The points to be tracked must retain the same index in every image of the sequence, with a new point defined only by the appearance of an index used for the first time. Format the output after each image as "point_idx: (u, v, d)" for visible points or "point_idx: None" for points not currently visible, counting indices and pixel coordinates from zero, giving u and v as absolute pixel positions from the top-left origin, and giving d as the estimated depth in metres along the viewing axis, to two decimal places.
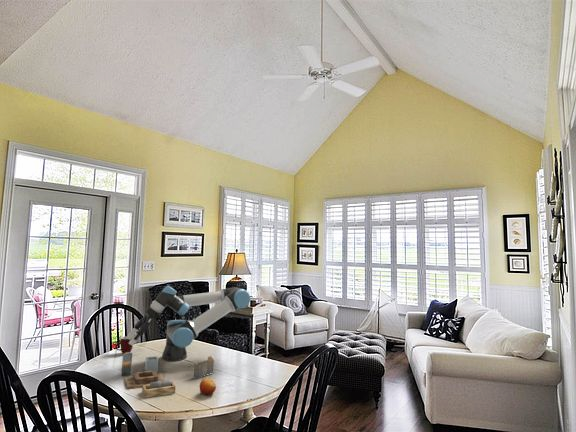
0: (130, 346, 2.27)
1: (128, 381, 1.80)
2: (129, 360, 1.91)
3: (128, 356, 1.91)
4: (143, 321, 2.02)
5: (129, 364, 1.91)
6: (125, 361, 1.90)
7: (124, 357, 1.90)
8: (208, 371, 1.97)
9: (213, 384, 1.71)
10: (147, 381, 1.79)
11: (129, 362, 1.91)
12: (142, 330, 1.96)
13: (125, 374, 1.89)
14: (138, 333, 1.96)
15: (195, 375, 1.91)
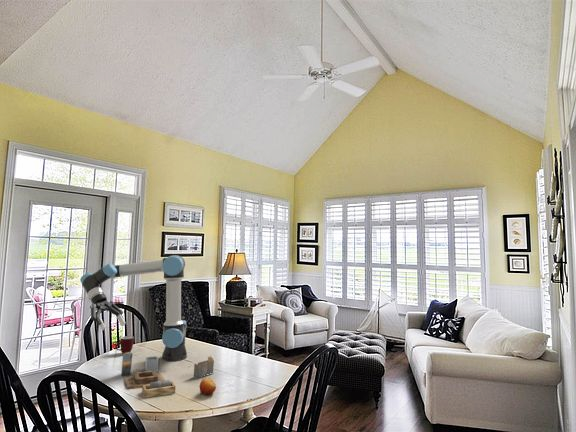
0: (130, 346, 2.27)
1: (128, 381, 1.80)
2: (129, 360, 1.91)
3: (128, 356, 1.91)
4: None
5: (129, 364, 1.91)
6: (125, 361, 1.90)
7: (124, 357, 1.90)
8: (208, 371, 1.97)
9: (213, 384, 1.71)
10: (147, 381, 1.79)
11: (129, 362, 1.91)
12: (91, 316, 1.92)
13: (125, 374, 1.89)
14: (95, 319, 1.92)
15: (195, 375, 1.91)
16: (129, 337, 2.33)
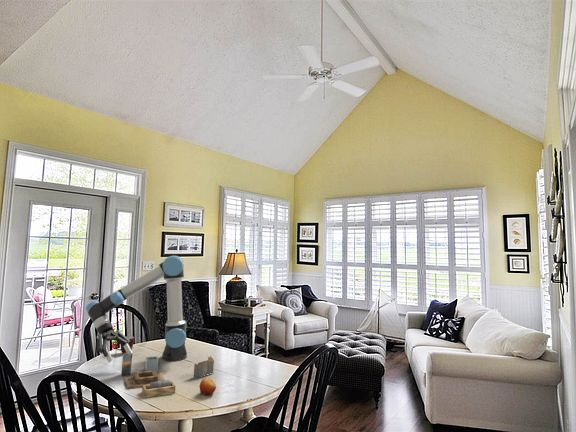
0: (130, 346, 2.27)
1: (128, 381, 1.80)
2: (129, 360, 1.91)
3: (128, 356, 1.91)
4: None
5: (129, 364, 1.91)
6: (125, 361, 1.90)
7: (124, 357, 1.90)
8: (208, 371, 1.97)
9: (213, 384, 1.71)
10: (147, 381, 1.79)
11: (129, 362, 1.91)
12: (98, 347, 1.87)
13: (125, 374, 1.89)
14: None
15: (195, 375, 1.91)
16: (129, 337, 2.33)
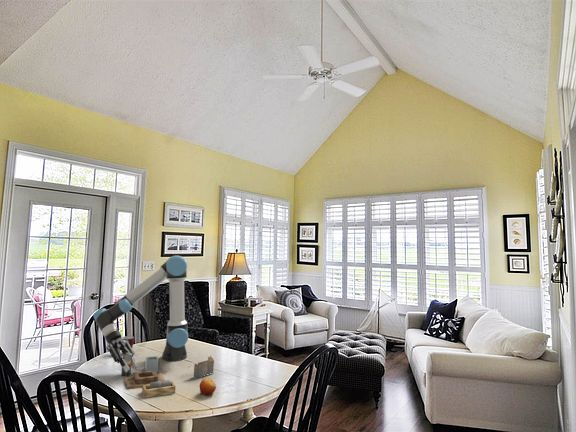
0: None
1: (128, 381, 1.80)
2: (129, 360, 1.91)
3: (128, 356, 1.91)
4: None
5: (129, 364, 1.91)
6: None
7: (124, 357, 1.90)
8: (208, 371, 1.97)
9: (213, 384, 1.71)
10: (147, 381, 1.79)
11: (129, 362, 1.91)
12: (114, 358, 1.88)
13: (125, 374, 1.89)
14: None
15: (195, 375, 1.91)
16: (129, 337, 2.33)
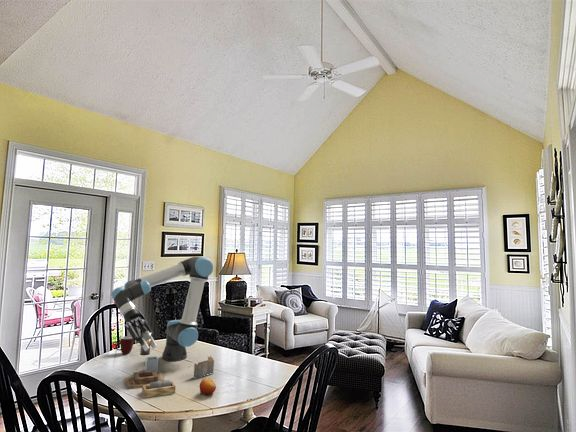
0: (130, 346, 2.27)
1: (128, 381, 1.80)
2: (148, 339, 1.84)
3: (147, 335, 1.84)
4: None
5: (148, 343, 1.84)
6: None
7: (143, 336, 1.83)
8: (208, 371, 1.97)
9: (213, 384, 1.71)
10: (147, 381, 1.79)
11: (148, 341, 1.84)
12: (133, 336, 1.81)
13: (144, 353, 1.83)
14: (138, 340, 1.82)
15: (195, 375, 1.91)
16: (129, 337, 2.33)
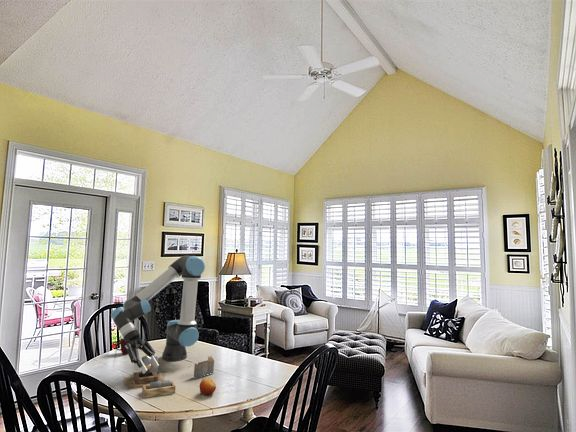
0: None
1: (128, 381, 1.80)
2: (148, 364, 1.83)
3: (147, 360, 1.82)
4: None
5: (148, 368, 1.83)
6: None
7: (143, 361, 1.82)
8: (208, 371, 1.97)
9: (213, 384, 1.71)
10: (147, 381, 1.79)
11: (148, 366, 1.82)
12: (131, 358, 1.79)
13: None
14: None
15: (195, 375, 1.91)
16: None
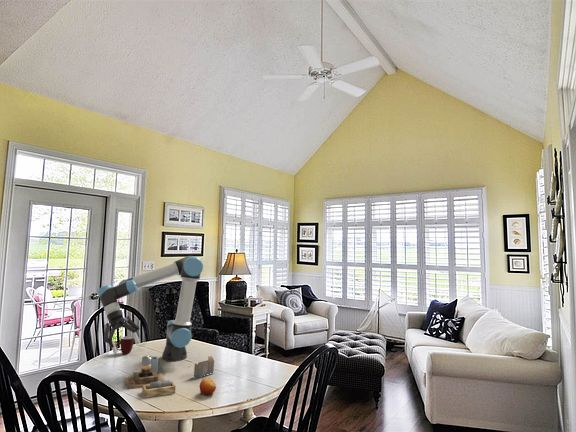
0: (130, 346, 2.27)
1: (128, 381, 1.80)
2: (149, 364, 1.83)
3: (148, 360, 1.82)
4: (111, 329, 1.93)
5: (149, 368, 1.83)
6: (144, 365, 1.82)
7: (143, 361, 1.82)
8: (208, 371, 1.97)
9: (213, 384, 1.71)
10: (147, 381, 1.79)
11: (148, 366, 1.82)
12: (104, 338, 1.86)
13: None
14: (108, 342, 1.87)
15: (195, 375, 1.91)
16: (129, 337, 2.33)
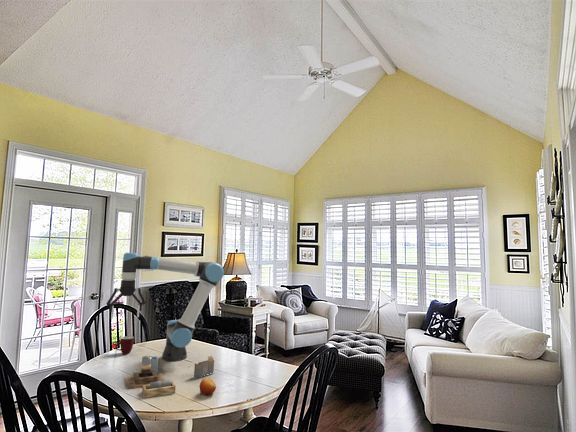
0: (130, 346, 2.27)
1: (128, 381, 1.80)
2: (149, 364, 1.83)
3: (148, 360, 1.82)
4: (120, 293, 2.03)
5: (149, 368, 1.83)
6: (144, 365, 1.82)
7: (143, 361, 1.82)
8: (208, 371, 1.97)
9: (213, 384, 1.71)
10: (147, 381, 1.79)
11: (148, 366, 1.83)
12: (108, 300, 1.99)
13: None
14: None
15: (195, 375, 1.92)
16: (129, 337, 2.33)
